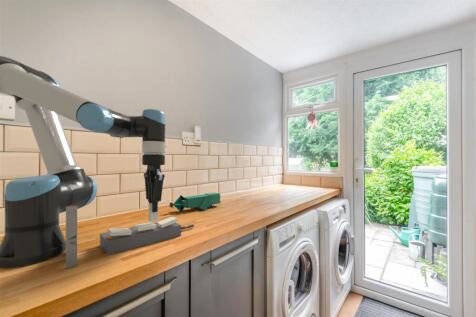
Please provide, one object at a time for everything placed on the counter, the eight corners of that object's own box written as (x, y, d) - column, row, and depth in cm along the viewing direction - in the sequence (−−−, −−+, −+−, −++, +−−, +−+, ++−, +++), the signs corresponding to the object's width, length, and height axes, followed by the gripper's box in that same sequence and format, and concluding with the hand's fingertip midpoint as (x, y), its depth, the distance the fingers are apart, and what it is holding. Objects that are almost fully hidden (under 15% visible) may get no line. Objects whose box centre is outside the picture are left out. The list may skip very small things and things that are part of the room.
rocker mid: (138, 231, 70) (138, 227, 70) (134, 228, 73) (134, 224, 73) (156, 228, 74) (156, 224, 74) (151, 225, 77) (152, 222, 77)
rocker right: (162, 228, 76) (161, 224, 75) (157, 225, 78) (157, 222, 78) (177, 221, 80) (177, 218, 79) (172, 219, 82) (172, 216, 82)
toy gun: (76, 201, 68) (77, 205, 57) (76, 253, 67) (77, 268, 55) (66, 202, 67) (65, 206, 55) (66, 255, 66) (65, 271, 54)
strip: (106, 255, 63) (106, 240, 63) (100, 245, 71) (100, 232, 71) (200, 230, 85) (200, 219, 85) (187, 225, 93) (187, 214, 93)
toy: (166, 194, 118) (212, 189, 137) (166, 212, 118) (212, 204, 137) (174, 197, 109) (223, 191, 128) (175, 216, 109) (223, 207, 128)
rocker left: (110, 235, 65) (111, 231, 65) (107, 232, 68) (108, 228, 68) (131, 234, 69) (132, 231, 69) (127, 231, 72) (128, 228, 72)
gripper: (172, 153, 74) (171, 222, 73) (156, 154, 83) (156, 215, 83) (150, 153, 69) (149, 227, 68) (136, 154, 78) (136, 219, 78)
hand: (153, 220), depth 76 cm, fingers closed
